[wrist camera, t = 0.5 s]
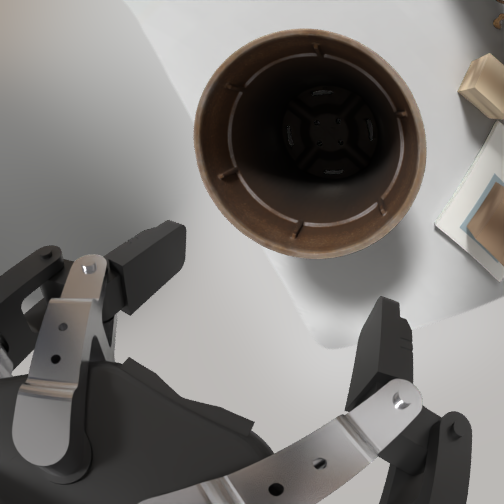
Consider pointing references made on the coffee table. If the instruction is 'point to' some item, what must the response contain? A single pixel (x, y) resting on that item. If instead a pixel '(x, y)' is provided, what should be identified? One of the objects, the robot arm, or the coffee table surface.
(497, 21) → the lion figurine
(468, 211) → the board
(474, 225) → the walnut plinth
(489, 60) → the oak block
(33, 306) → the robot arm
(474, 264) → the coffee table surface
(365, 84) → the plant pot
